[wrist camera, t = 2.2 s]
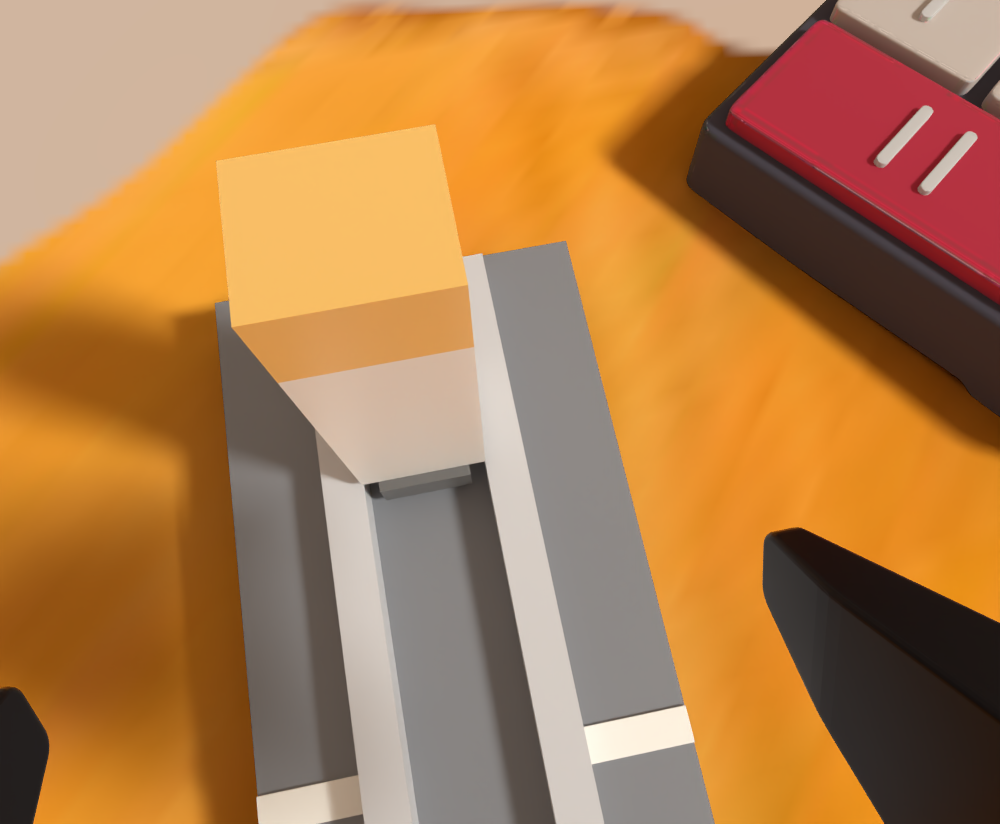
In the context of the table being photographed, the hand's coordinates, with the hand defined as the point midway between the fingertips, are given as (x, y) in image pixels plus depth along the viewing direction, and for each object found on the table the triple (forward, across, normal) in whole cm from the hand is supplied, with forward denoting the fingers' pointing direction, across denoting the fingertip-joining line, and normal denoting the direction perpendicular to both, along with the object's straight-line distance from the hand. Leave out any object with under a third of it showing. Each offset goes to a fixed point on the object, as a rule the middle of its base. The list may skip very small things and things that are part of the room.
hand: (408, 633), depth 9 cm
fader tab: (+10, 0, +3) cm, 11 cm away
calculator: (+16, -18, +2) cm, 24 cm away
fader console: (+9, 0, +7) cm, 12 cm away
